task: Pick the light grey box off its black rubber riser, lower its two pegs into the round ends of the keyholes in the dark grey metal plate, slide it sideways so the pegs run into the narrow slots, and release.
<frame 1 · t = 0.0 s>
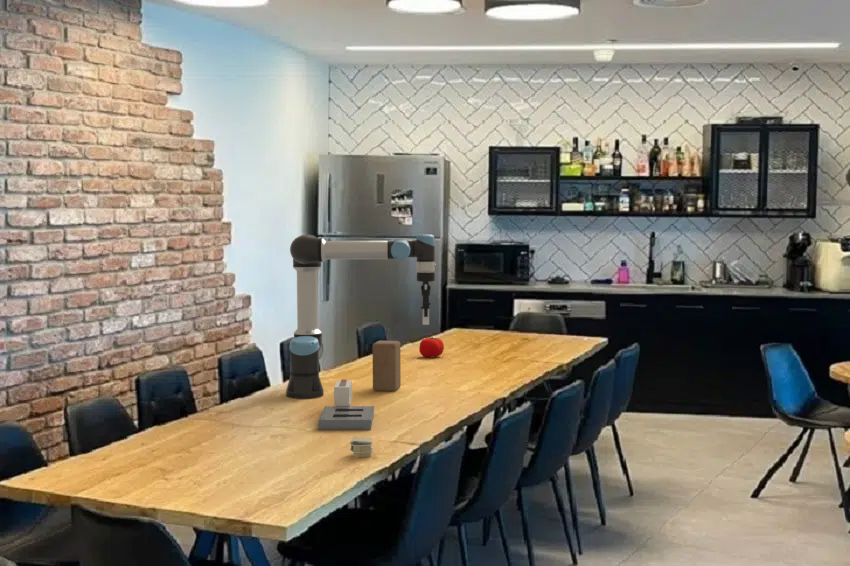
hand: (425, 322, 433), 28 cm above the table, fingers open, 13 cm apart
wooden block: (386, 389, 435), on the table
light grey box: (343, 410, 391), on the table, touching riser
sponge pad: (361, 457, 323), on the table
riser: (343, 410, 391), on the table
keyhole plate: (347, 422, 370), on the table
tomato: (431, 357, 525), on the table
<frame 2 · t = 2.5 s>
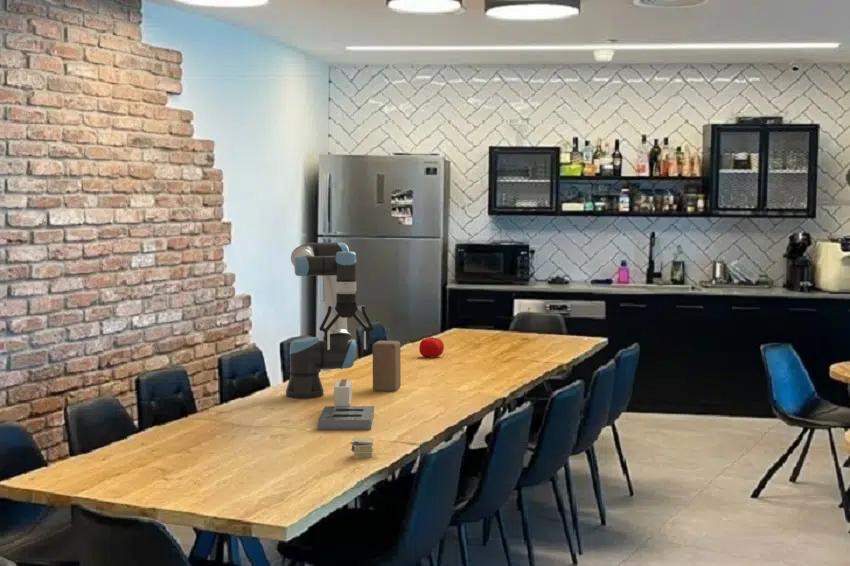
hand: (346, 349, 391), 23 cm above the table, fingers open, 13 cm apart
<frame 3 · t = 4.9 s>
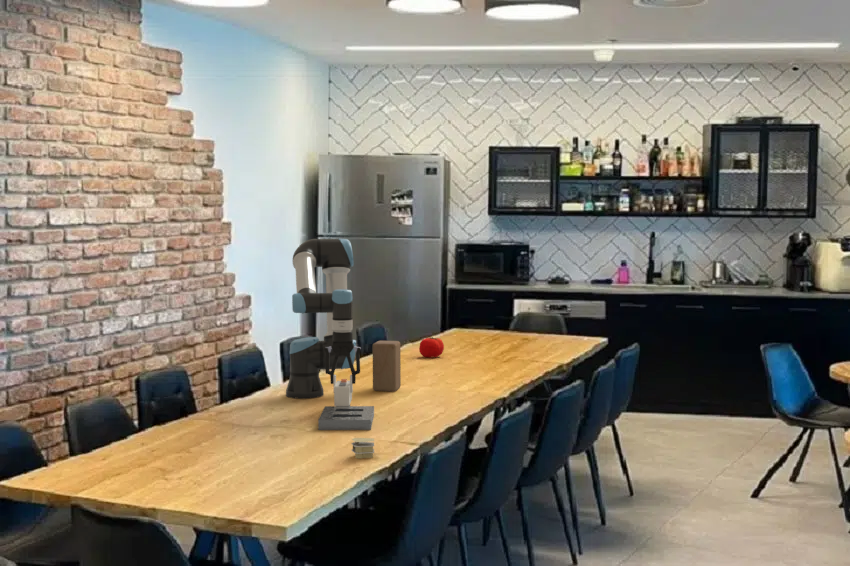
hand: (343, 392, 391), 7 cm above the table, fingers closed on light grey box, 5 cm apart
light grey box: (343, 410, 391), on the table, touching gripper, riser
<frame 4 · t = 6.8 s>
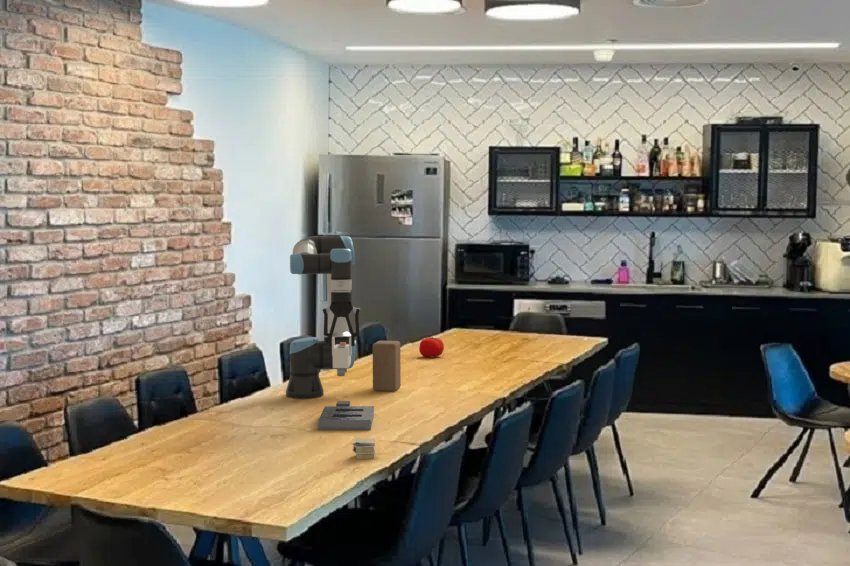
hand: (341, 355, 377), 23 cm above the table, fingers closed on light grey box, 5 cm apart
light grey box: (342, 373, 378), point 16 cm above the table, touching gripper
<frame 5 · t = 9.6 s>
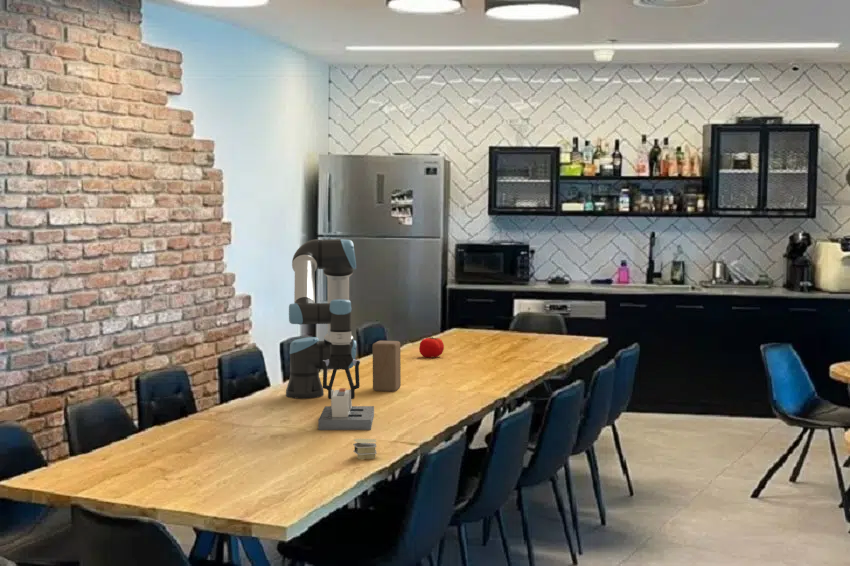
hand: (341, 408, 370), 5 cm above the table, fingers closed on light grey box, 5 cm apart
light grey box: (341, 421, 370), touching gripper, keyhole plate
when the fingers open (5 cm above the table, at t = 11.0 s): light grey box stays where it is, resting on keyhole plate.
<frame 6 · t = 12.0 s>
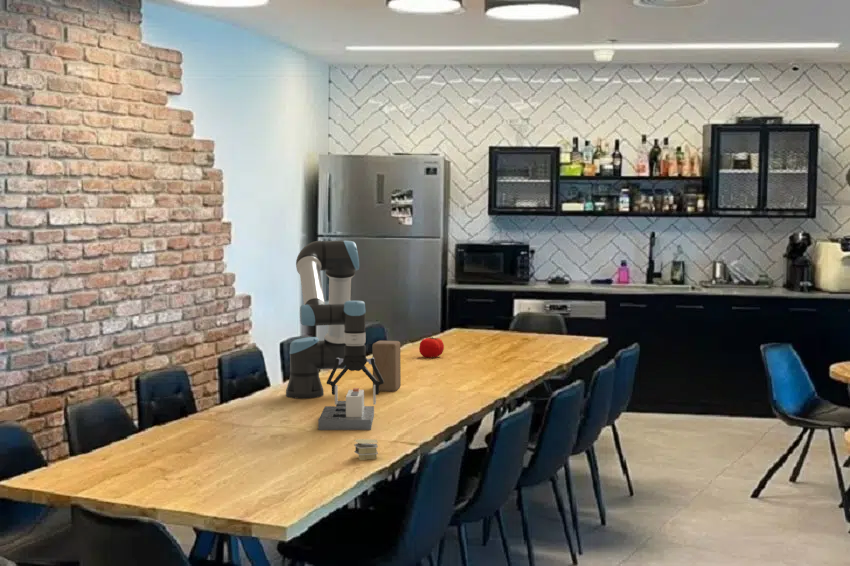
hand: (355, 403, 370), 7 cm above the table, fingers open, 13 cm apart
light grey box: (355, 421, 370), resting on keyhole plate
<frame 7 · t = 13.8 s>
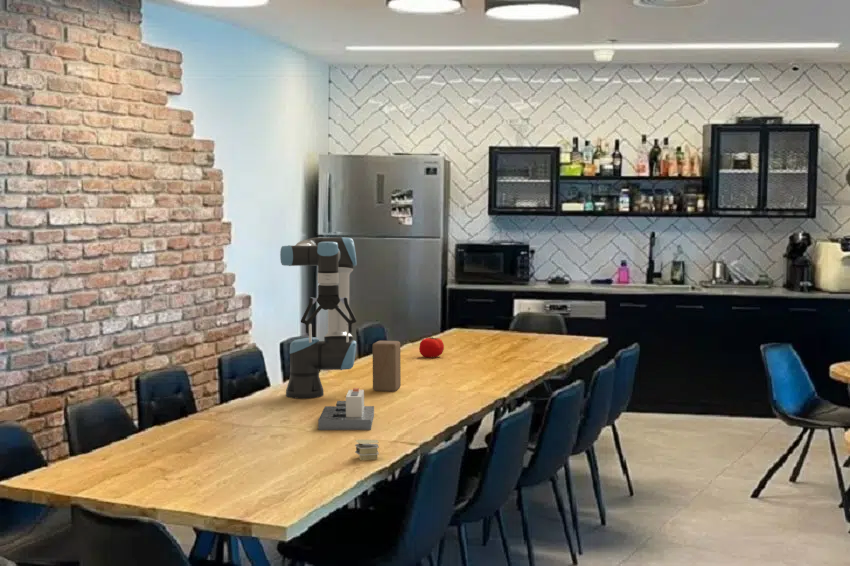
hand: (329, 342, 381), 27 cm above the table, fingers open, 13 cm apart
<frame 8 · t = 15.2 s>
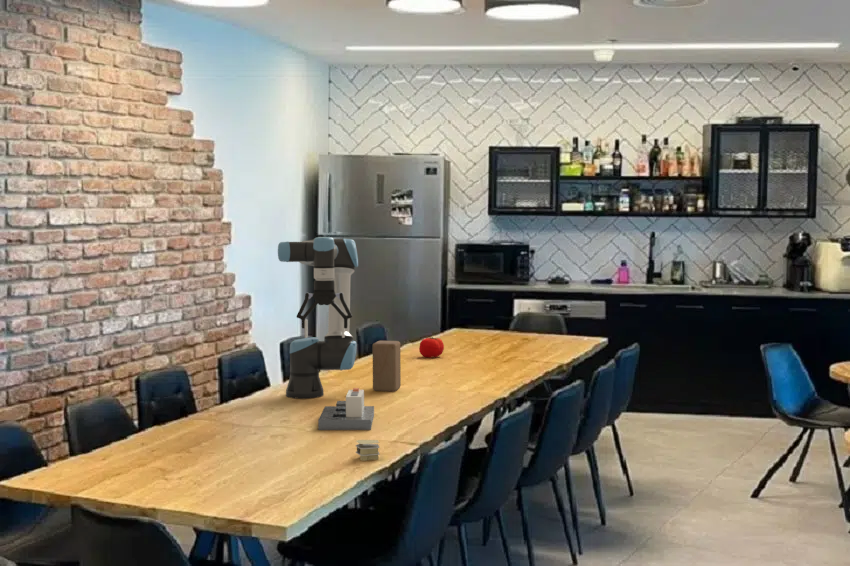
hand: (324, 337, 382), 29 cm above the table, fingers open, 13 cm apart
at the end: light grey box 0.5 cm from the target spot on the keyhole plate, point 0.5 cm above the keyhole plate's base; light grey box tilted 0°; the gripper is holding nothing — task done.
